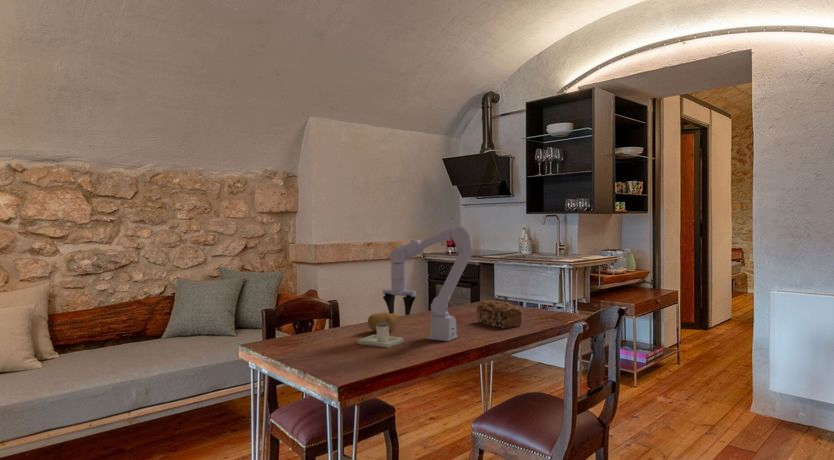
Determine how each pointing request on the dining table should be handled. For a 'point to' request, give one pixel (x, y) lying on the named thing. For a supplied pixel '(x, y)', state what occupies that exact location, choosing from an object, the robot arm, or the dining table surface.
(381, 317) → the potato
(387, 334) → the shaker
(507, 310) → the bread
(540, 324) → the dining table surface
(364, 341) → the tray
